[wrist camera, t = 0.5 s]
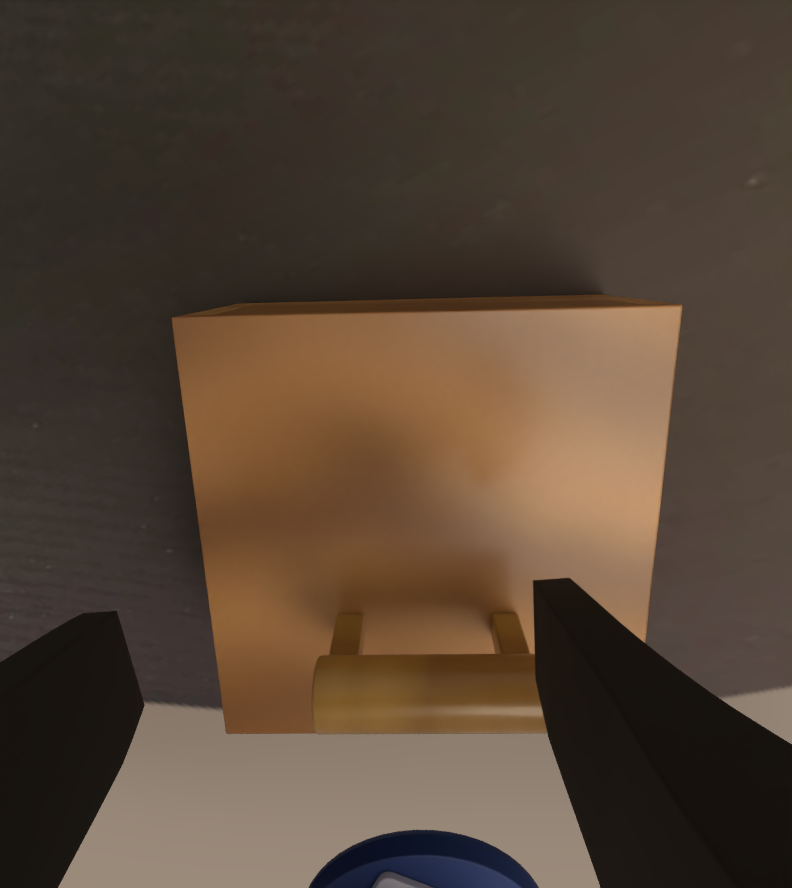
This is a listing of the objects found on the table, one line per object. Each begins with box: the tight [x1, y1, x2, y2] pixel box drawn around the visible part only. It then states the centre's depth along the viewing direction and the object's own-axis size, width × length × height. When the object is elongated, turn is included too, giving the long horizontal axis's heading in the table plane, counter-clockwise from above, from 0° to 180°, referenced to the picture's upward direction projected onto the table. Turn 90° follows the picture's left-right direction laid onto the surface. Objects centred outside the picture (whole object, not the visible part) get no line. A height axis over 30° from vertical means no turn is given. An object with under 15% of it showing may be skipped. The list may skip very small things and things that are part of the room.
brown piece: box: [172, 303, 682, 734], centre depth 13 cm, size 12×11×4 cm
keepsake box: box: [187, 294, 663, 315], centre depth 18 cm, size 11×11×5 cm
